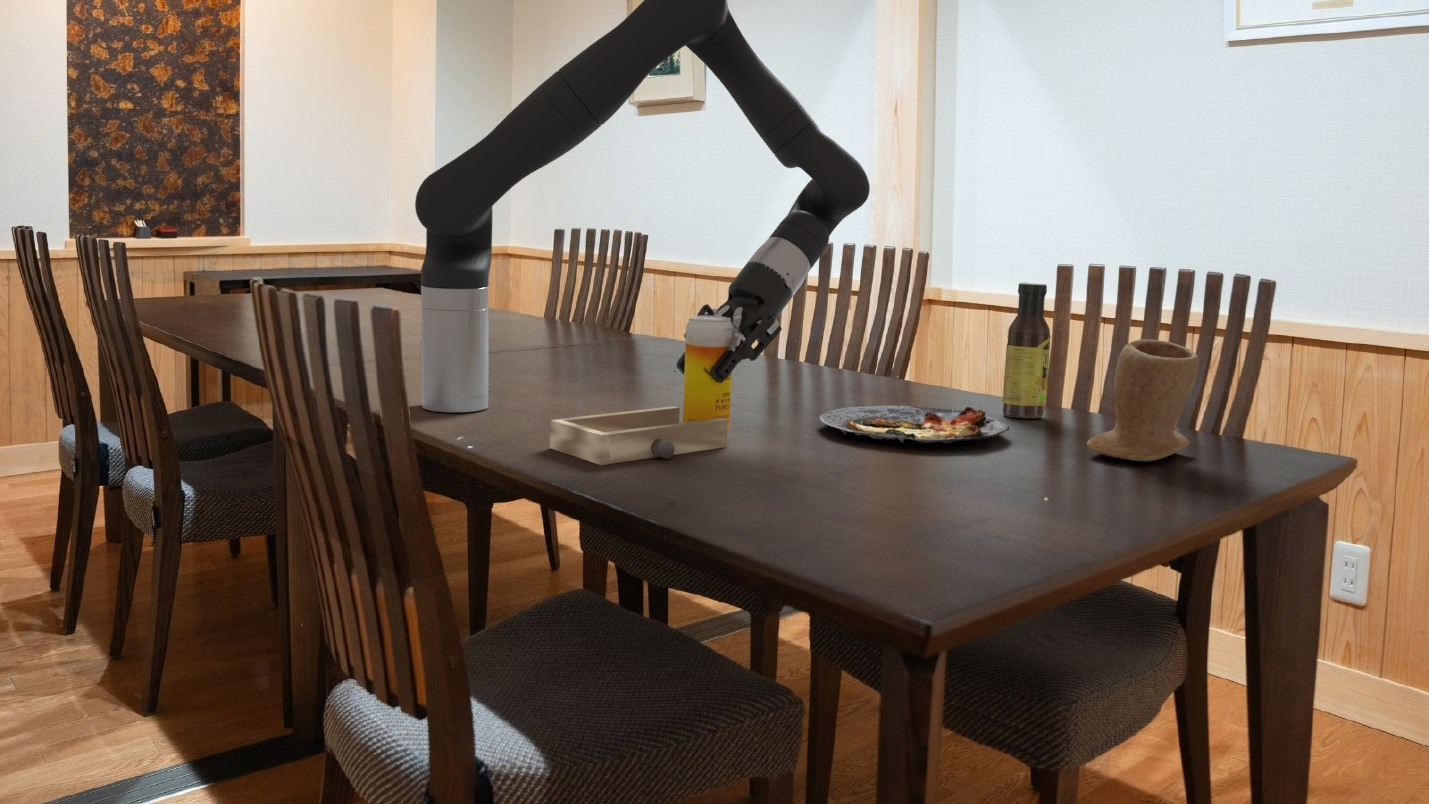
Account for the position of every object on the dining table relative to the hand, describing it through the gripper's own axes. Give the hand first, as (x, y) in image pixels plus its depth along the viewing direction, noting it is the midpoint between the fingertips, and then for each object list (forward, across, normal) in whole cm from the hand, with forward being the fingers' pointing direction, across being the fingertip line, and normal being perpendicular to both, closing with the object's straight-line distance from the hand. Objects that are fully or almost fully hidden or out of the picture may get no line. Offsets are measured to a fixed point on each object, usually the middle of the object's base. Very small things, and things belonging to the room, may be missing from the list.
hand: (698, 374), depth 154 cm
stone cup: (-24, +38, +37) cm, 58 cm away
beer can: (+4, 0, +7) cm, 8 cm away
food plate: (-14, +12, +26) cm, 32 cm away
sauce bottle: (-32, +12, +44) cm, 55 cm away
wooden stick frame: (+12, 0, 0) cm, 12 cm away
